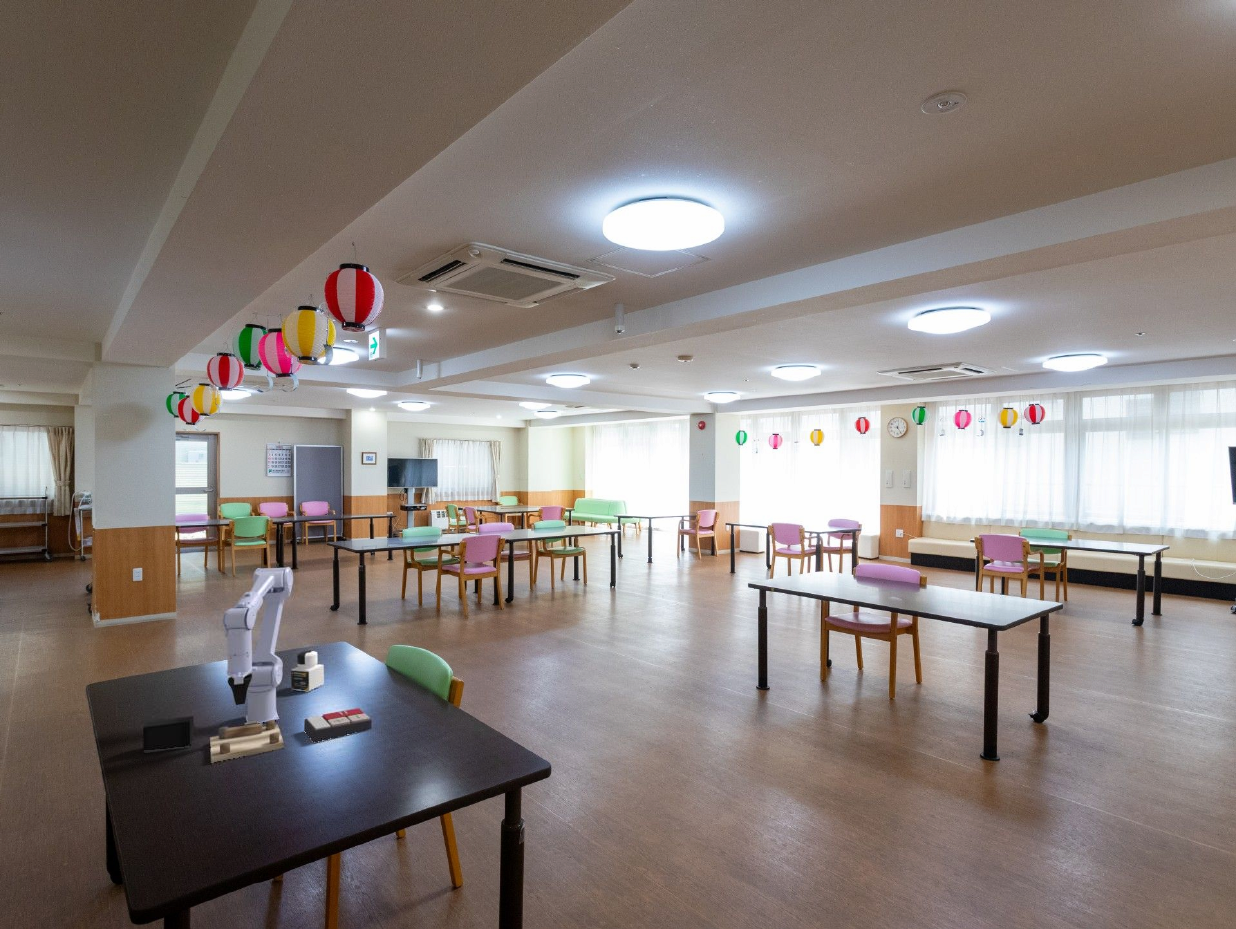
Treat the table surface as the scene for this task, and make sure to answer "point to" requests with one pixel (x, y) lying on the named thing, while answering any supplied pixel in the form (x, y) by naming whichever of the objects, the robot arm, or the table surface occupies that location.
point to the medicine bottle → (307, 672)
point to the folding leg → (239, 731)
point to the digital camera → (168, 733)
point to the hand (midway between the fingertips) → (240, 703)
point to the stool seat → (247, 743)
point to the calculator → (336, 724)
